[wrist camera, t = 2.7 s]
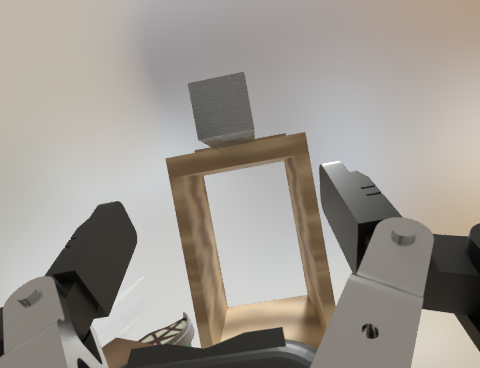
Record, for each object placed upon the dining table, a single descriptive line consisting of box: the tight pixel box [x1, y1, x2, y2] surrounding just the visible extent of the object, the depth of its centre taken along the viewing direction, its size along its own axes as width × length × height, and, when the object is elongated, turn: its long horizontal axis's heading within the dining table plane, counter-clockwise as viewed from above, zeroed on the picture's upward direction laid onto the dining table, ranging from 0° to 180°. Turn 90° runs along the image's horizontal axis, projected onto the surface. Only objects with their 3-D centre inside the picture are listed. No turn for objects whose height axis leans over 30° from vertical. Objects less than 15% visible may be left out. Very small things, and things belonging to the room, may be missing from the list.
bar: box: [188, 72, 255, 149], centre depth 31 cm, size 22×4×4 cm, turn 177°
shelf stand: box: [166, 132, 336, 349], centre depth 36 cm, size 16×14×34 cm
